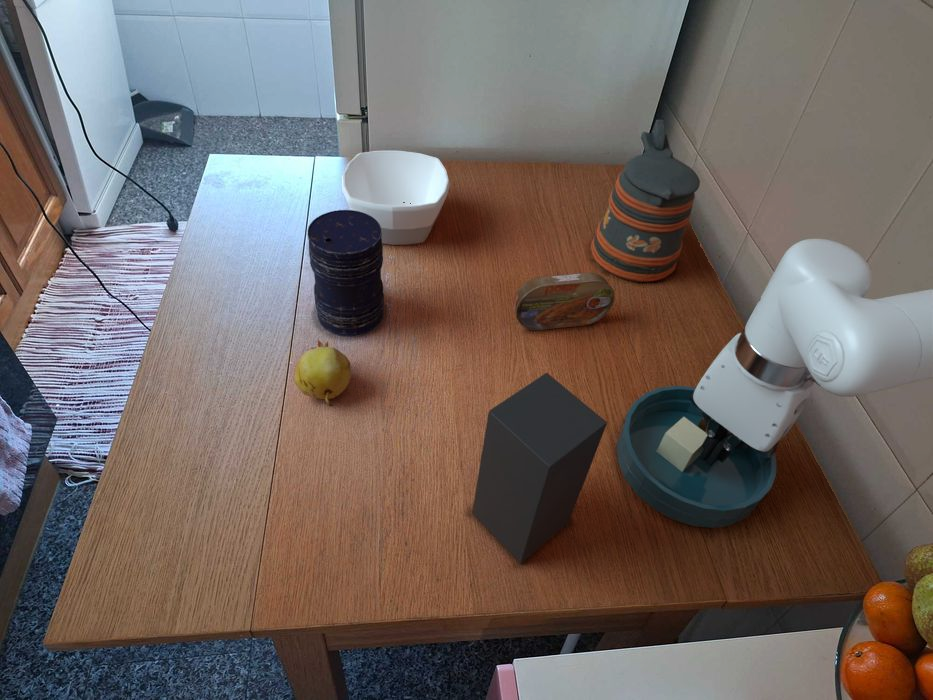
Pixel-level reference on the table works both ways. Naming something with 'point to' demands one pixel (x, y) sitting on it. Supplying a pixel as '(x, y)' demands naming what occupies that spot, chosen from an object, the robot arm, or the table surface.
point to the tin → (563, 301)
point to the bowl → (397, 192)
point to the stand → (534, 464)
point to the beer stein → (646, 213)
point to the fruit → (322, 372)
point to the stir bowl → (699, 486)
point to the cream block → (682, 444)
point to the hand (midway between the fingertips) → (711, 456)
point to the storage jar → (347, 271)
